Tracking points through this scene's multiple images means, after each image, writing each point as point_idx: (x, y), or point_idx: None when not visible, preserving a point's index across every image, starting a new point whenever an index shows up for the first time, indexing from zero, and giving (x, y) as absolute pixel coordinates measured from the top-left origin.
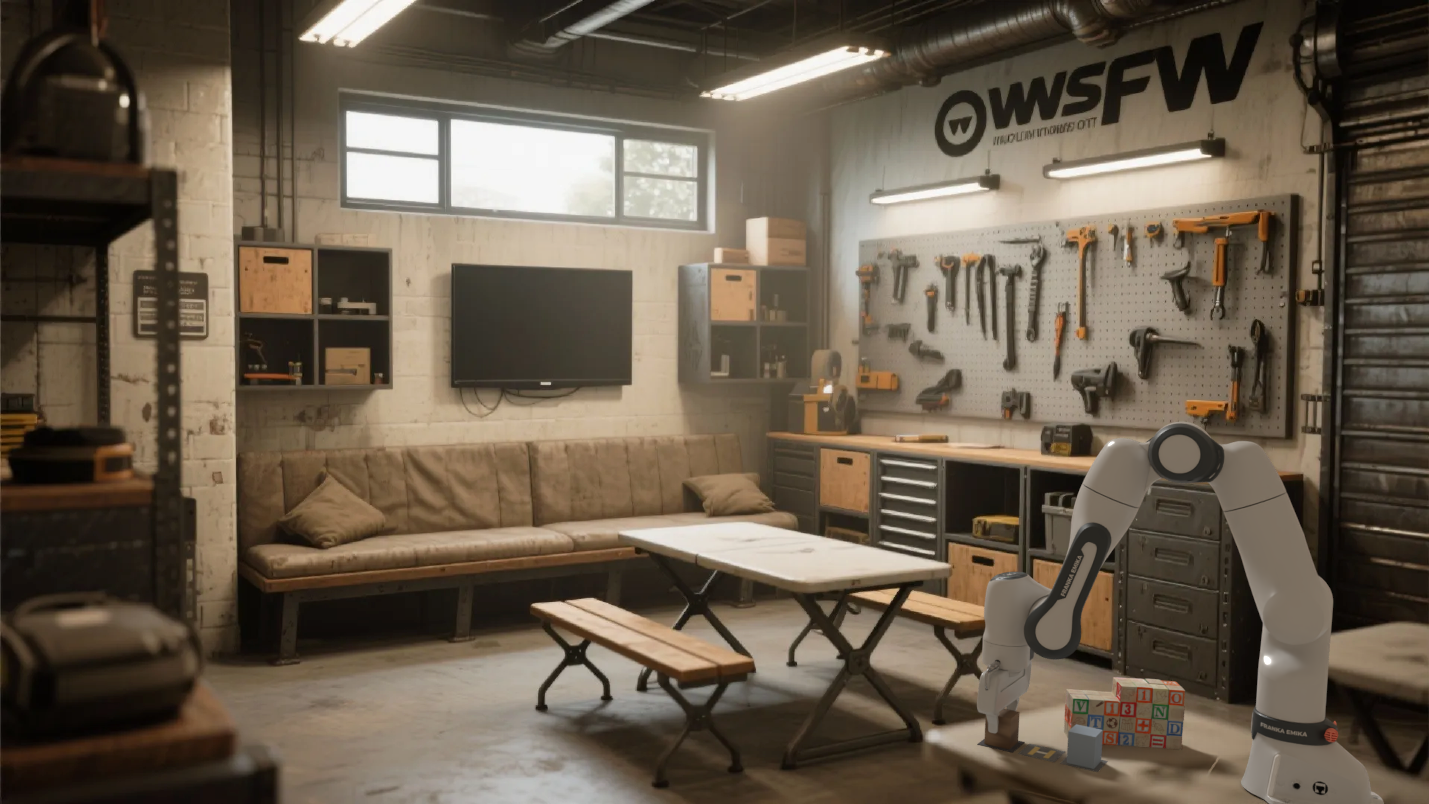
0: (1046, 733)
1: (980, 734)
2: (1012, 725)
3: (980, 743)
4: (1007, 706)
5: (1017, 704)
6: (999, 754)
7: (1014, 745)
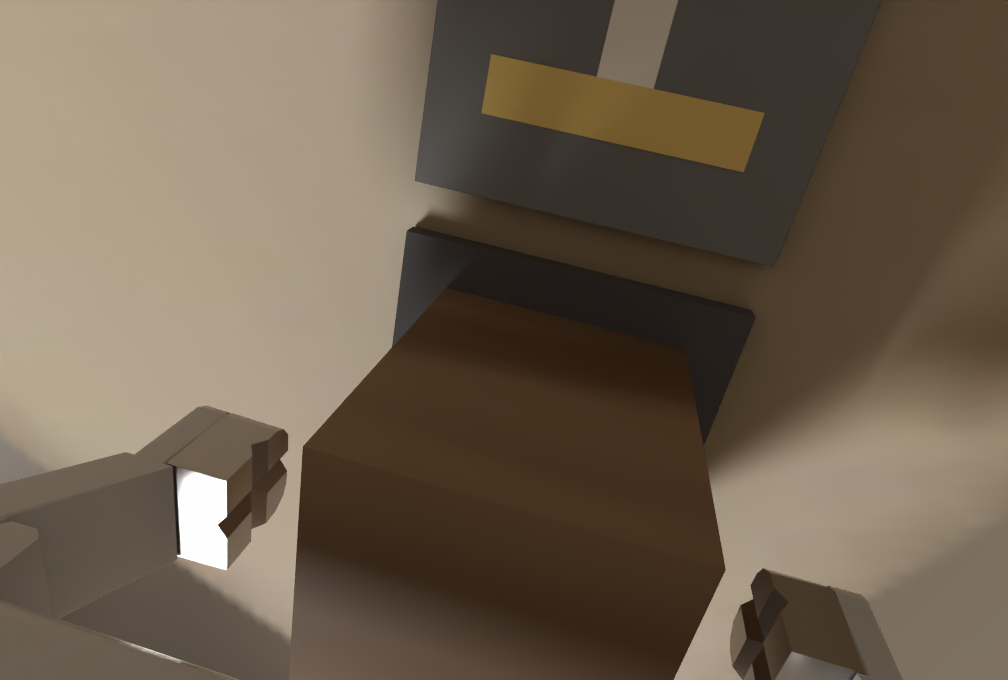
0: (22, 56)
1: None
2: (625, 458)
3: None
4: (138, 570)
5: (54, 492)
6: (793, 415)
7: (551, 312)
